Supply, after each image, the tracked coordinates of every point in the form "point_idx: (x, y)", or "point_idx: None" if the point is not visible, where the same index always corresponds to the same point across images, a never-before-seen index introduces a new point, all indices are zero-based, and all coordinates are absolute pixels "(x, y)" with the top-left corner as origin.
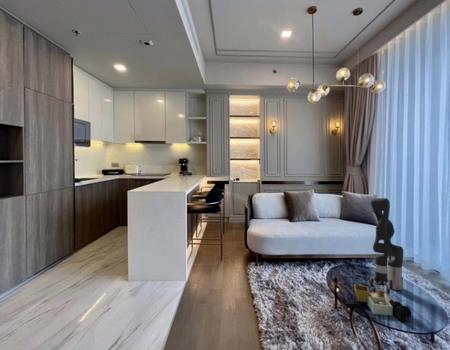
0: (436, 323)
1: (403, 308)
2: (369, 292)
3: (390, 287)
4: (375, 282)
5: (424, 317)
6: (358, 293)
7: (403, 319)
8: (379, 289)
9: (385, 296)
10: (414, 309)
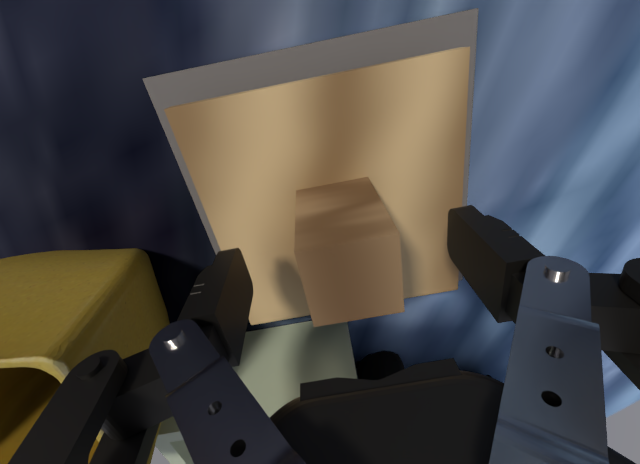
0: (629, 390)
1: None
2: (170, 109)
3: (605, 339)
4: (205, 433)
5: (604, 354)
6: (19, 442)
7: None
8: (329, 264)
9: (413, 167)
10: (621, 263)
